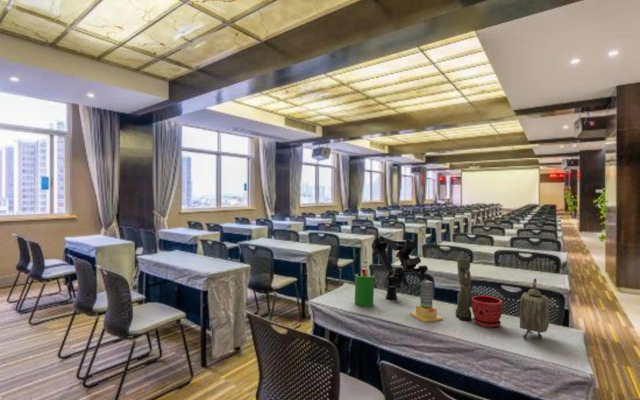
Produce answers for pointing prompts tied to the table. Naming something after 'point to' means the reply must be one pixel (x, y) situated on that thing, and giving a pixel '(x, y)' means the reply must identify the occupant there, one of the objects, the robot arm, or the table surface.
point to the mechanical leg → (464, 290)
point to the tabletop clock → (534, 311)
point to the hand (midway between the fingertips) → (415, 285)
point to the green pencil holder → (364, 289)
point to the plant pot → (487, 310)
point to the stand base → (426, 314)
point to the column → (426, 293)
